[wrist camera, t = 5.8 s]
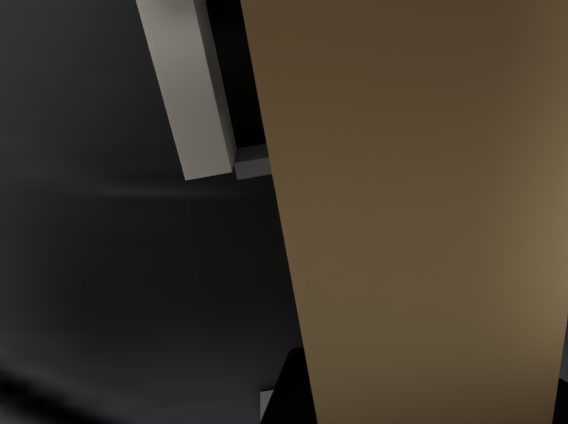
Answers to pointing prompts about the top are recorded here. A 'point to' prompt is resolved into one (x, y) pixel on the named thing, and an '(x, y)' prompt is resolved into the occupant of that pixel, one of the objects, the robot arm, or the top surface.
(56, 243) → the top surface
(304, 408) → the robot arm
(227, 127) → the stepped white cradle
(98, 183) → the top surface
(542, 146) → the rail
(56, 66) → the top surface
